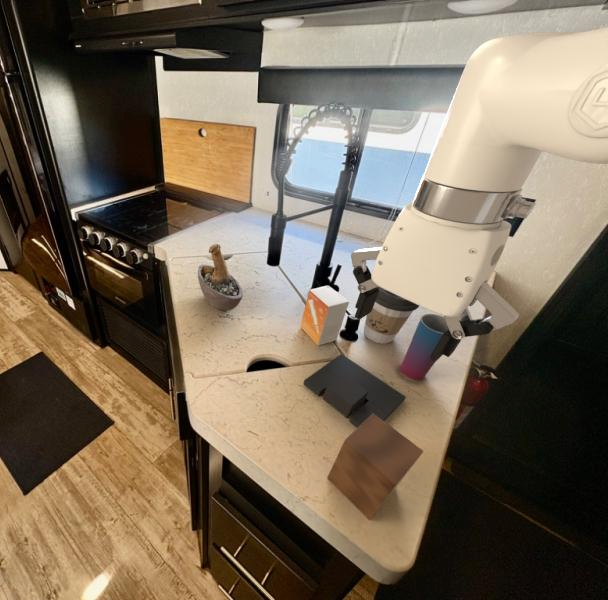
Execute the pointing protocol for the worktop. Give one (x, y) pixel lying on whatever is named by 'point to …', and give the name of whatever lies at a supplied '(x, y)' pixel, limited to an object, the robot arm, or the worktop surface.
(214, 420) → the worktop surface
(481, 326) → the robot arm
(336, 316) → the small box
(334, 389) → the black squat block
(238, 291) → the planter
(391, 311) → the coffee cup
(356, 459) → the brown wooden block
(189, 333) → the worktop surface
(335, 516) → the worktop surface
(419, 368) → the cup
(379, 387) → the black u-shaped block
